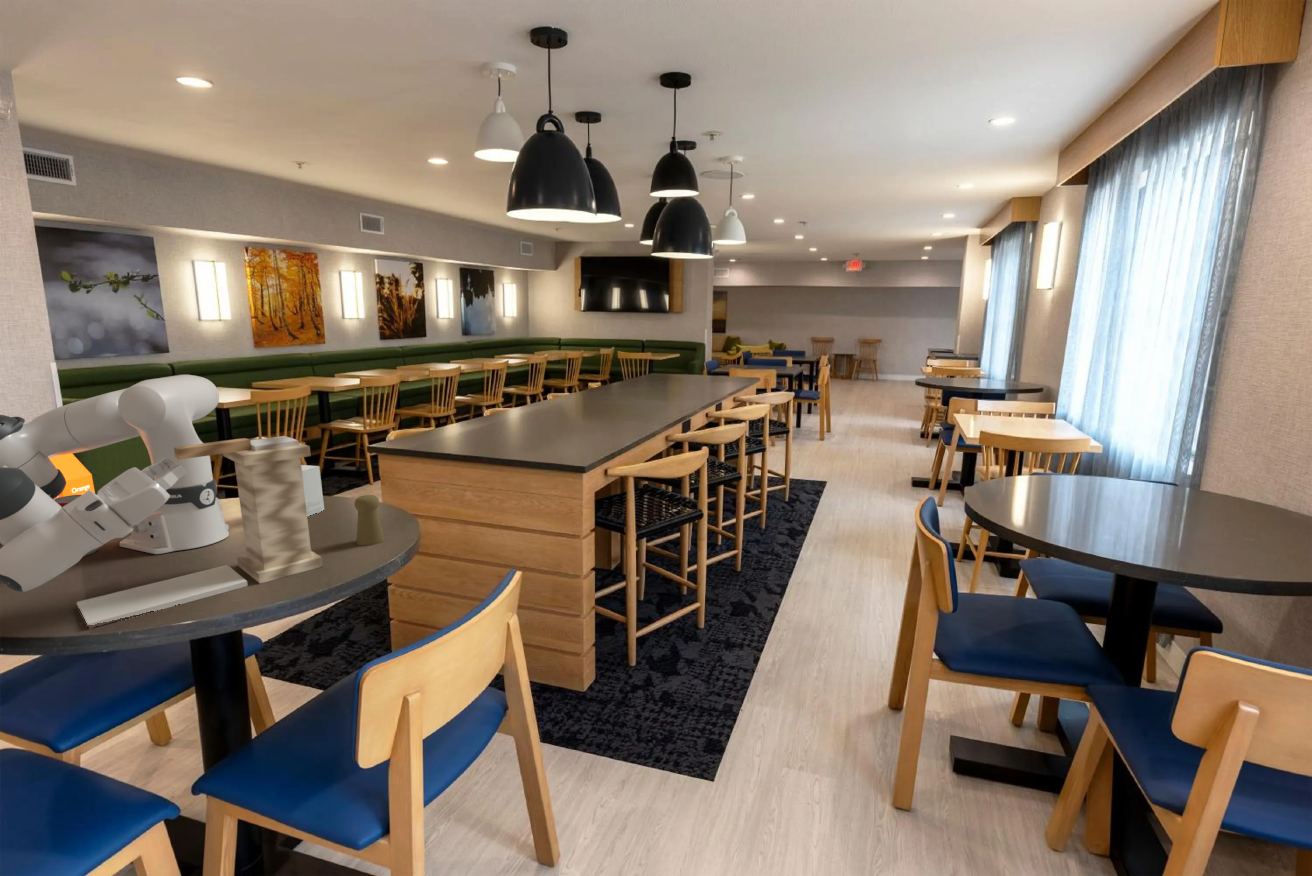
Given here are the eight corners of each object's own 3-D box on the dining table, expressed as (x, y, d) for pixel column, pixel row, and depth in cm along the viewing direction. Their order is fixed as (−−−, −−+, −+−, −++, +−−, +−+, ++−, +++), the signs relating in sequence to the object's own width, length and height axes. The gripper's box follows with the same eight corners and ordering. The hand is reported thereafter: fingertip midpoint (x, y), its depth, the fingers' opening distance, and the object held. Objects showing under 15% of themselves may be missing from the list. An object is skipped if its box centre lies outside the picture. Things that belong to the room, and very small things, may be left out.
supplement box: (325, 510, 177) (320, 465, 175) (303, 518, 171) (297, 472, 168) (304, 508, 180) (299, 463, 178) (281, 516, 173) (276, 470, 171)
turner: (182, 461, 120) (181, 451, 119) (172, 455, 125) (170, 445, 125) (299, 445, 134) (297, 435, 134) (285, 440, 140) (284, 431, 139)
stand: (259, 583, 129) (243, 455, 124) (238, 565, 138) (221, 446, 134) (323, 566, 138) (309, 446, 133) (298, 550, 147) (285, 438, 142)
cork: (374, 546, 150) (369, 500, 147) (350, 544, 151) (346, 499, 149) (389, 537, 155) (385, 493, 153) (367, 536, 157) (362, 492, 154)
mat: (88, 629, 111) (87, 624, 110) (77, 607, 119) (76, 602, 119) (247, 586, 128) (247, 581, 128) (228, 569, 137) (227, 564, 136)
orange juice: (102, 530, 163) (88, 452, 159) (72, 542, 154) (56, 460, 151) (70, 530, 163) (55, 452, 159) (38, 542, 154) (22, 460, 150)
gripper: (104, 515, 123) (175, 468, 131) (125, 539, 110) (203, 486, 117) (77, 491, 120) (151, 444, 127) (95, 513, 106) (177, 459, 114)
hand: (176, 464), depth 122 cm, fingers open, 8 cm apart
